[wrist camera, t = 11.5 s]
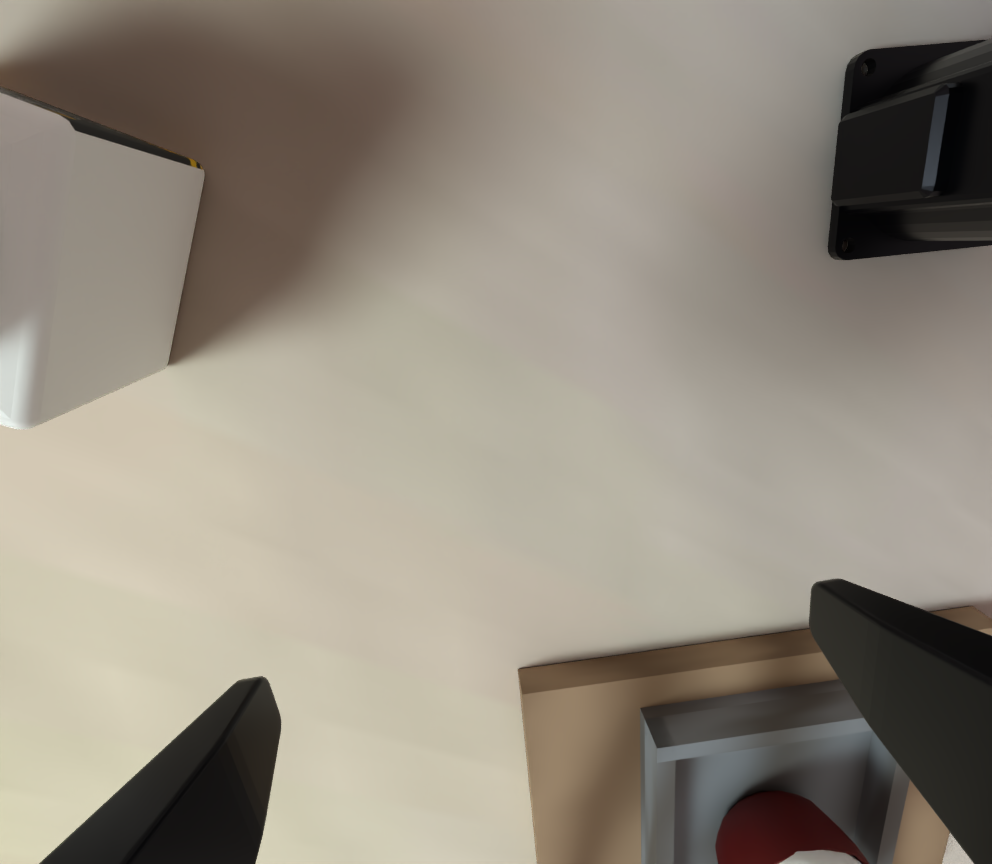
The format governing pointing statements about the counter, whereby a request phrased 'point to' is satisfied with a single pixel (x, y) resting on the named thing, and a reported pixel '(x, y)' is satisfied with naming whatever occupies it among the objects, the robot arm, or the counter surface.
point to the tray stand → (710, 752)
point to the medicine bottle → (85, 258)
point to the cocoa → (782, 833)
